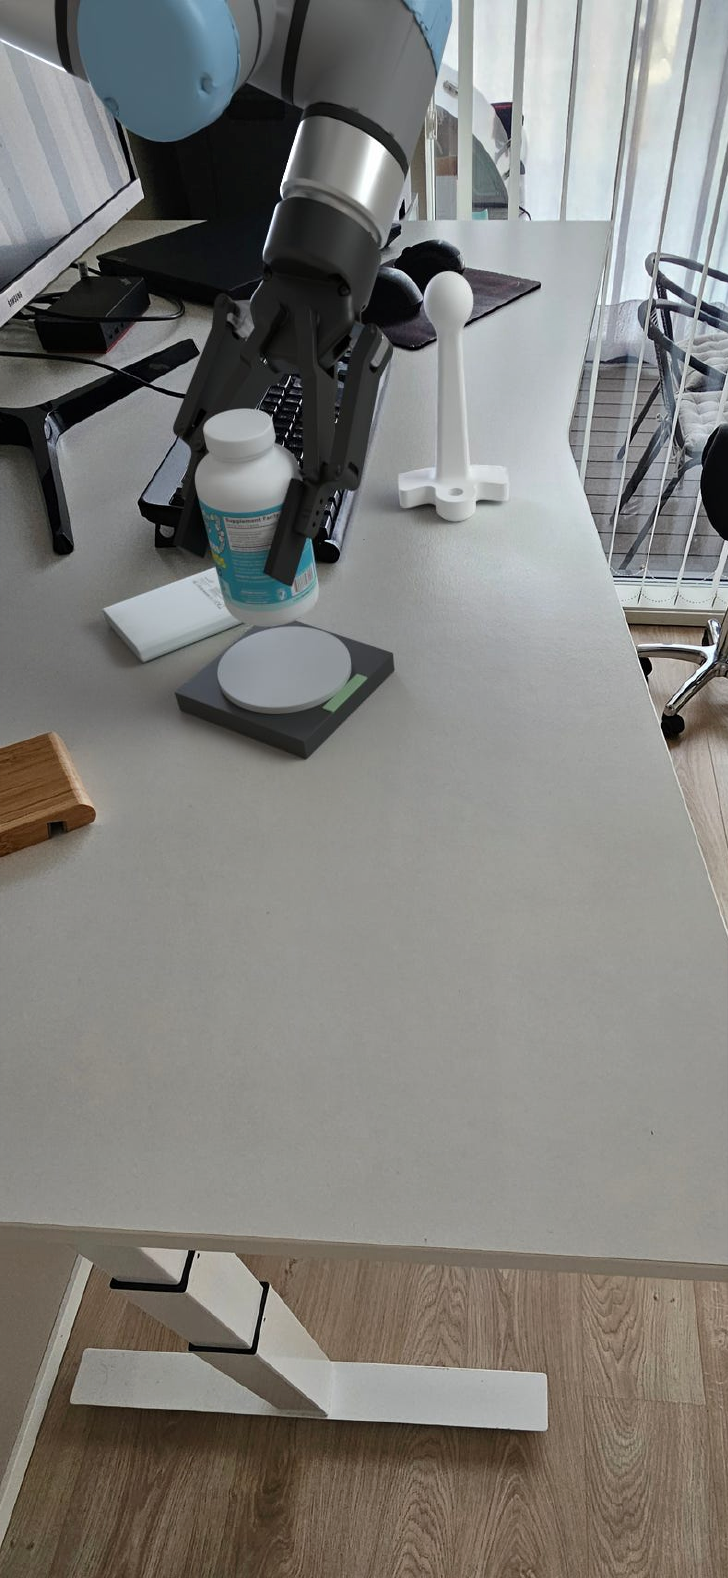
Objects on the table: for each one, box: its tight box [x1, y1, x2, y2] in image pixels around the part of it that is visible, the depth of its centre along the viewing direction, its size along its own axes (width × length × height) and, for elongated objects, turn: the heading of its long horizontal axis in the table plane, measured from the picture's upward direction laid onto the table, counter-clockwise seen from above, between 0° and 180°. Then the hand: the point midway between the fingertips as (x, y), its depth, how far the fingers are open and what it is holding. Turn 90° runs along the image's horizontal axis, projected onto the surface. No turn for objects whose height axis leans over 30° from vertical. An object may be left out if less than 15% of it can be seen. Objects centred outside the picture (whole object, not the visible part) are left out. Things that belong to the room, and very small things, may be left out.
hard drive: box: [101, 566, 244, 663], centre depth 89 cm, size 2×8×12 cm
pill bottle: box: [195, 409, 320, 627], centre depth 71 cm, size 8×7×14 cm
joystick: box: [397, 270, 510, 522], centre depth 93 cm, size 11×8×20 cm
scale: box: [174, 620, 395, 760], centre depth 82 cm, size 13×13×2 cm
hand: (232, 565), depth 71 cm, fingers closed on pill bottle, 7 cm apart
